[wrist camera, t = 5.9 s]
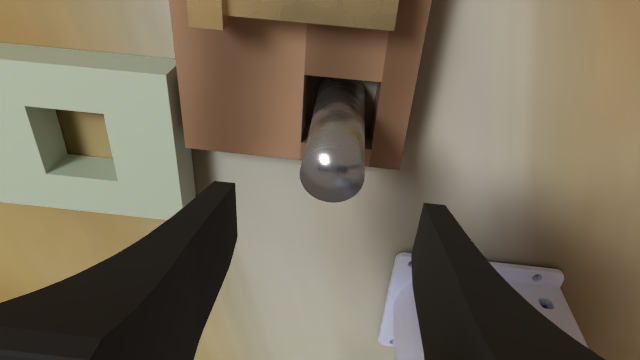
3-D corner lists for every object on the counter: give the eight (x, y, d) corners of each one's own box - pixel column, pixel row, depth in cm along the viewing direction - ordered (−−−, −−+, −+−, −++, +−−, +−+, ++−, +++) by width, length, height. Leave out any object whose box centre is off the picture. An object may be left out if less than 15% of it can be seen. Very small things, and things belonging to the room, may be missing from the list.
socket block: (434, -54, 18) (441, -47, 16) (396, 148, 23) (399, 169, 21) (180, -75, 18) (161, -71, 16) (198, 128, 23) (185, 147, 21)
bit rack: (181, 59, 21) (165, 75, 19) (196, 199, 25) (184, 221, 24) (-28, 39, 21) (-61, 53, 20) (22, 181, 26) (-1, 201, 24)
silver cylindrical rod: (367, 75, 21) (368, 151, 15) (362, 119, 22) (360, 205, 16) (319, 70, 21) (301, 144, 15) (316, 114, 22) (298, 198, 16)
